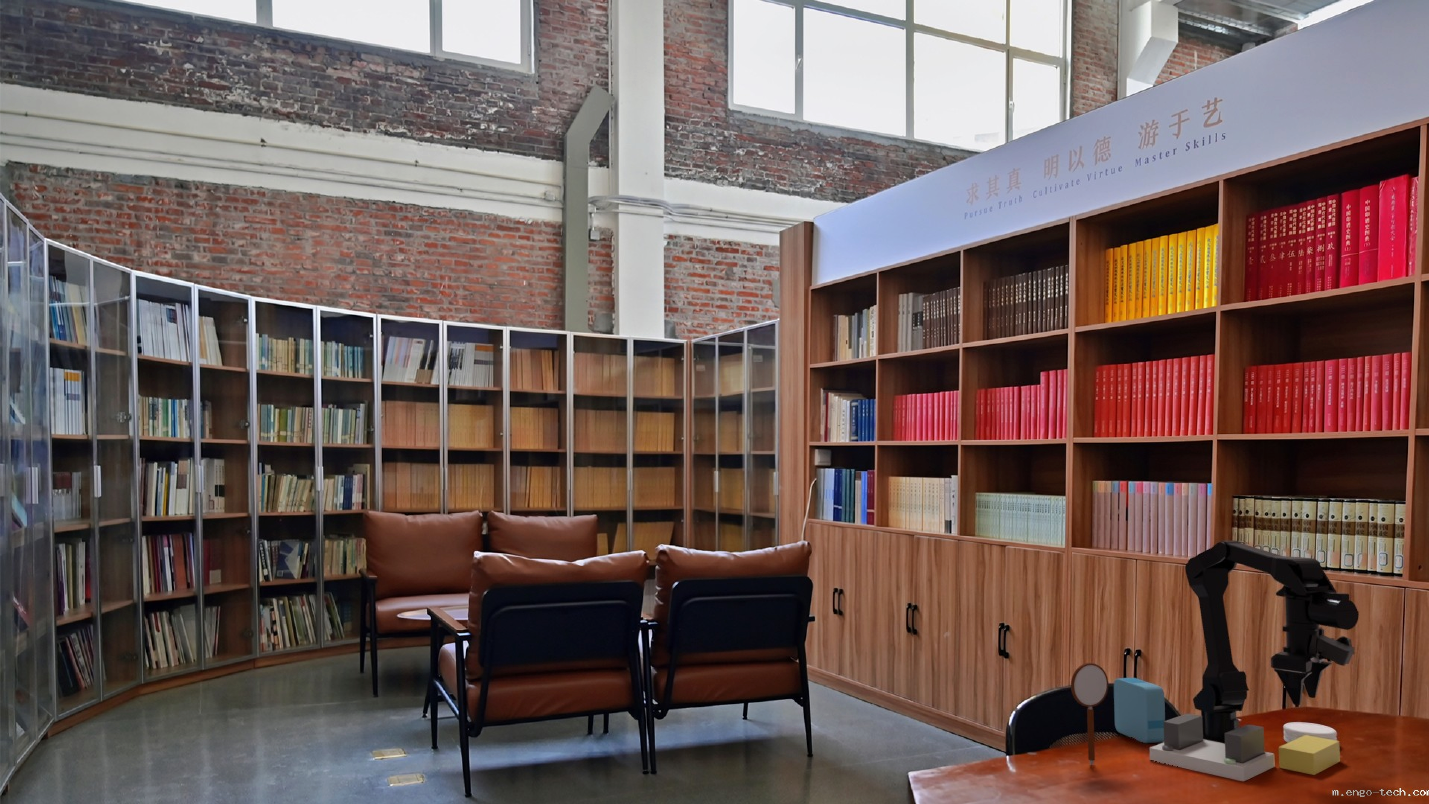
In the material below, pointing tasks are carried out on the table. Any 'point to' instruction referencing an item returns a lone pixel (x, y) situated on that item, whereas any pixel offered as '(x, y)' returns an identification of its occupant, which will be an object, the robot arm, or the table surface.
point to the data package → (1139, 710)
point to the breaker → (1183, 731)
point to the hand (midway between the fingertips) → (1304, 701)
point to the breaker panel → (1211, 760)
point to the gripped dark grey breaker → (1244, 743)
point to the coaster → (1307, 731)
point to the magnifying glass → (1089, 695)
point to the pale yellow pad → (1309, 754)
